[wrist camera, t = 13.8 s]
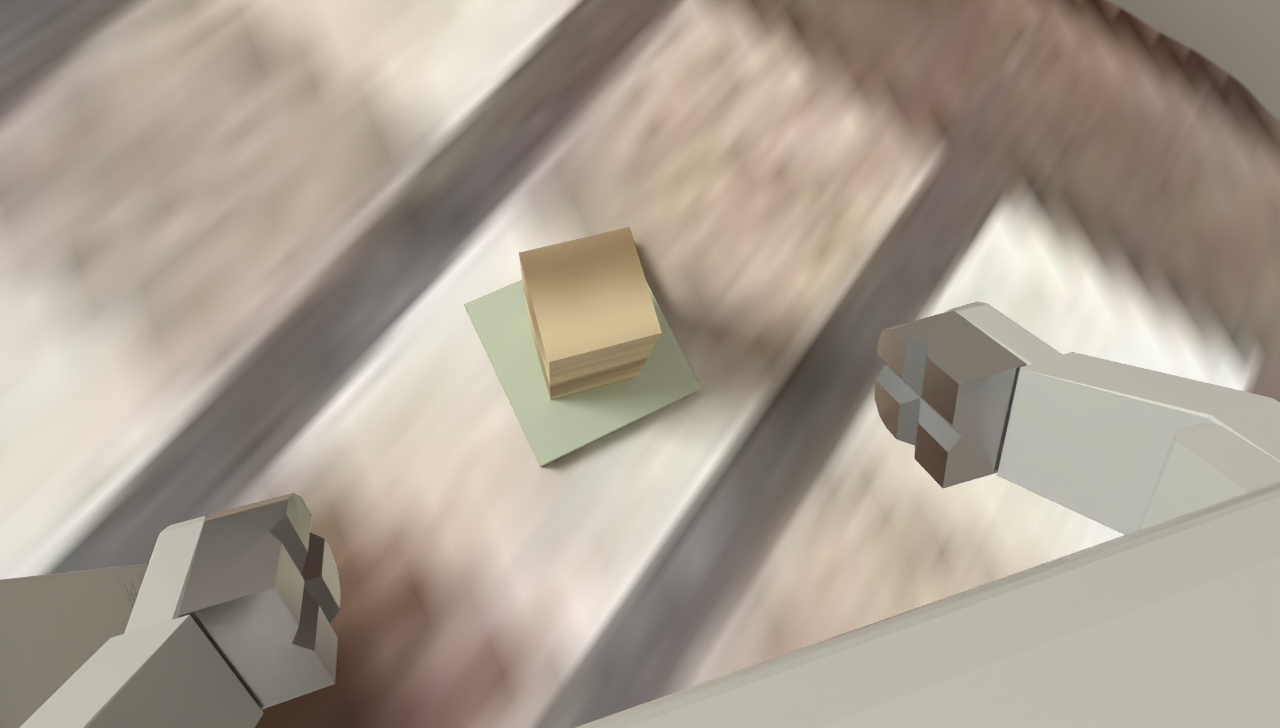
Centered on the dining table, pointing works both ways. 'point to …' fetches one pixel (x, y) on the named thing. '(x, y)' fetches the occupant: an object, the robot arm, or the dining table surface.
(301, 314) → the dining table surface
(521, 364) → the tile
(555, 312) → the beech block
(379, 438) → the dining table surface
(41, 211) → the dining table surface
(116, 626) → the supplement box
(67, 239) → the dining table surface
